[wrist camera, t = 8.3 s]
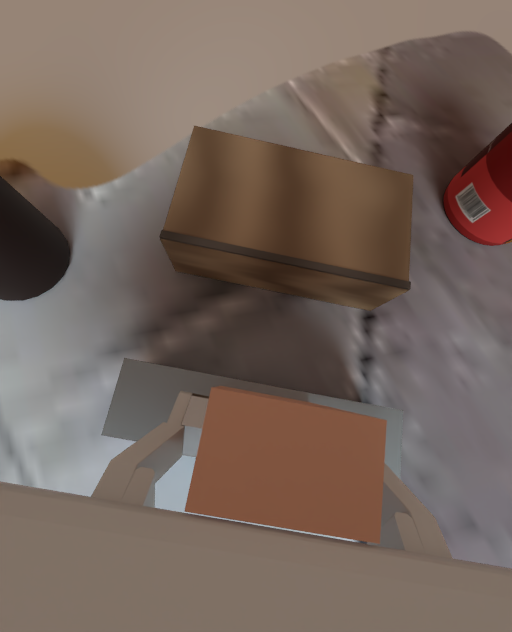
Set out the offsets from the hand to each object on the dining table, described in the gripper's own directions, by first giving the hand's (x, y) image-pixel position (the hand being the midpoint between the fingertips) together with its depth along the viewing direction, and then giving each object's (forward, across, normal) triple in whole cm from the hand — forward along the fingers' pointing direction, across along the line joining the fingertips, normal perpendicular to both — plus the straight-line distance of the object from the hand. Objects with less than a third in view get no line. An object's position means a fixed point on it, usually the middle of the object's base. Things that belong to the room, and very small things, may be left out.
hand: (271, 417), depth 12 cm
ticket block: (+15, 0, -3) cm, 16 cm away
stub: (+5, 0, +6) cm, 8 cm away
